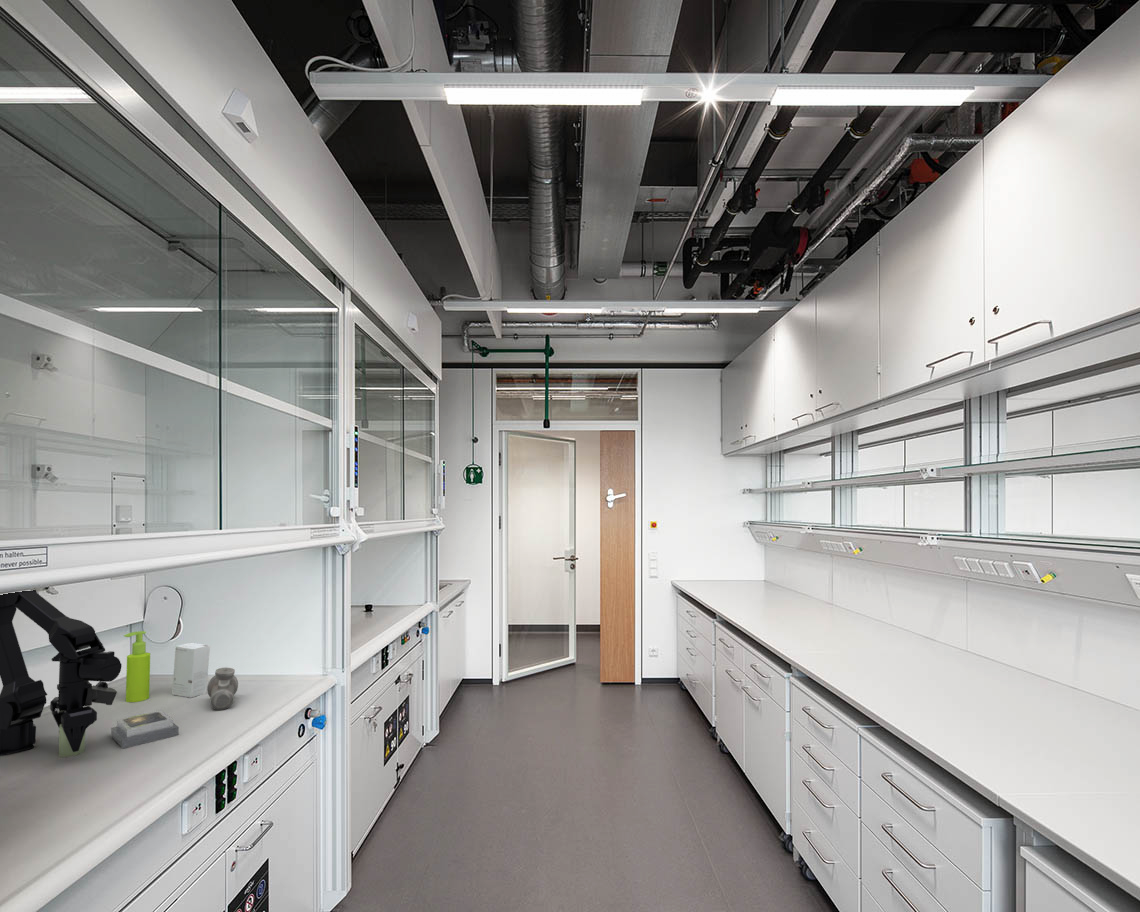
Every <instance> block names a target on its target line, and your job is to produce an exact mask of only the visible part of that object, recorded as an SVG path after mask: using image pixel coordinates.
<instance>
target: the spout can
mask: <svg viewBox="0 0 1140 912" xmlns="http://www.w3.org/2000/svg"><path fill="white" fill-rule="evenodd" d="M61 725H62V724H60V725H59V727H58V729H59V730H58V755H57V756H58V757H60V758H70V757H75V756H78V755H81V754H83V753H85V750H86V732H85V733H84V736H83V739H82V742H81V745H80V748H79V751H76V752H73V751H72V749H71V747H70V744H69V742H68V740H67V738H66V735H65V733H64V731H63V729H62V727H61Z"/></svg>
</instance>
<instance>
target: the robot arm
mask: <svg viewBox="0 0 1140 912" xmlns="http://www.w3.org/2000/svg"><path fill="white" fill-rule="evenodd" d="M17 610H19V612H21V613H23V615H25V616H26V617H28V618H29V619H30V620H31V621H33V622H34V623H35V624H36V625H37V626H39V627H40V628H41V629H42V630H44V631H45V632H46V633H47V635H48V641H49V644H51V645H52V646H53V648H54V649H55V650H56V651H57V652H58V653H57V654H56V655H55V656H53V657H52V658H51V661H52V662H59V665H58V666H59V669H58V670H59V671H58V672H59V673H58V684H56V689H57V691H58V696H55V697H54V698H53V699H52V700H51V701H50V705H49V706H50V707H49V709H50V711H51V715H52V717H53V719H54V721H55V723H56V725H57V727H58V728H59V725H60V724H62V725H61V727H62V729H63V731H64V733H65V735H66V738H67V740H68V742H69V744H70V747H71V749H72V751H73V752H76V751H79V748H80V745H81V742H82V739H83V736H84V733H85V734H86V731H87V730H86V729H88V727H90V726H91V725H93V724H94V723H95V722H96V721H98V720H97V719H98V712H97V711H96V710H95V709H94V708H93V707H91V706H92V705H93V703H95V704H104V705H106V706H112V705H113V703H114V701H115V698H116V695H117V694H118V691H117V690H116V689H115V688H112V687H109V684H108V682H113V681H114V680H115V679H117V678H118V677H119V675H120V673H121V671H122V667H123V666H122V663H121V660H120V659H119V657H117V656H115V653H116V652H115V651H114V650H113V651H111V650H110V651H109V650H108V651H106V648H105V646H104V645H103V643H102V641H101V640H100V638H99V637H98V634H97V633H96V630H95V628H94V627H93V626H91V625H90V624H88V623H86V622H84V621H83V620H79V619H76V618H71V617H69V616H67V615H65V614H64V613H63V612H62V611H60V610H59V609H58V608H56V607H55V606H54V605H53V604H52V603H50V602H49V601H48V600H47V599H45V598H44V597H43V596H42V595H40V594H39V593H38V592H37V589H35V590H33V591H22V592H15V593H8V594H3V595H0V681H1V684H2V688H1V691H0V756H4V755H5V756H6V755H9V754H14V753H17V752H22V751H26V750H31V749H34V747H35V744H36V742H37V741H36V739H37V726H36V724H34V720H35V719H39V718H41V716H42V713H43V711H44V708H45V705H46V704H47V696H48V692H46V690H45V687H44V682H43V681H42V680H41V679H39V680H34V679H33V678H32V677H30V675H29V672H28V669H27V665H26V663H25V659H24V656H23V653H22V650H21V646H20V643H19V640H18V636H17V634H16V630H15V626H14V623H13V621H14V618H15V615H16V612H17ZM91 682H97V683H96V684H95V685H93V683H91Z"/></svg>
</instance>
